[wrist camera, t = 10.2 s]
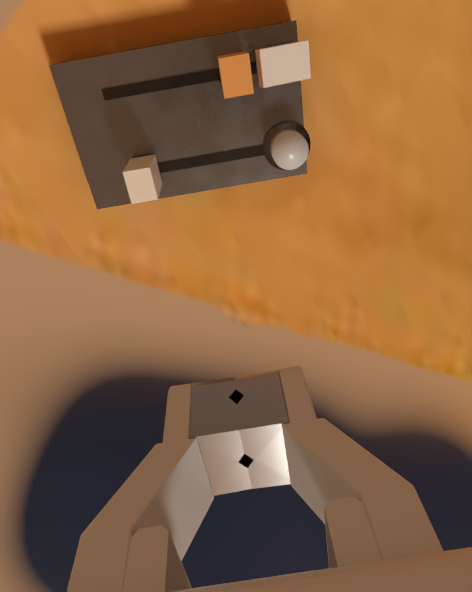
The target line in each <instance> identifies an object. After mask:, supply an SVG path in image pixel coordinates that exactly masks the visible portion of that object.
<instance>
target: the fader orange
mask: <svg viewBox="0 0 472 592" xmlns="http://www.w3.org/2000/svg"><path fill="white" fill-rule="evenodd" d="M217 59H218V66H219V72H220V79H221V85H222V92H223V95H224V99H226V98H232V97H237V96H243V95H249V94H254V90H253V82H252V74H251V66H250V58H249V53H247V52H245V51H242V52H237V53H231V54H225V55H220V56H217Z"/></svg>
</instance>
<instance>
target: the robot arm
mask: <svg viewBox="0 0 472 592" xmlns="http://www.w3.org/2000/svg"><path fill="white" fill-rule="evenodd" d="M286 484H291V486H292V487H293V488H294V489H295V490H296V492H297V493H298V494H299V495H300V496H301V497H302V498H303V500H304V501H305V502H306V503H307V504H308V505H309V506H310V508H311V509H312V510H313V511H314V512H315V513H316V514H317V515H318V517H319V518H320V519H321V520H322V521H323V522H324V524H325V525H326V536H327V548H328V560H329V568H328V569H321V570H314V571H308V572H301V573H294V574H287V575H281V576H274V577H267V578H260V579H254V580H246V581H240V582H233V583H226V584H220V585H213V586H205V587H199V588H191V585H190V583H189V580H188V578H187V575H186V573H185V570H184V568H183V565H182V563H181V561H182V559H183V557H184V555H185V553H186V551H187V549H188V547H189V545H190V543H191V541H192V539H193V538H194V536H195V533H196V532H197V530H198V528H199V526H200V524H201V522H202V520H203V518H204V516H205V514H206V512H207V510H208V509H209V507H210V504H211V503H212V501H213V499H214V497H213V496H214V495H220V494H225V493H231V492H236V491H241V490H247V489H252V488H262V487H270V486H278V485H286ZM67 592H472V547H470V548H464V549H457V550H450V551H443V549H442V547H441V545H440V542H439V540H438V538H437V536H436V534H435V532H434V529H433V527H432V525H431V523H430V521H429V519H428V517H427V514H426V512H425V510H424V508H423V506H422V503H421V501H420V499H419V497H418V495H417V493H416V490H415V488H414V486H413V485H412V484H410V483H409V482H408V481H406V480H405V479H403V477H401V476H400V475H399V474H397V473H396V472H395V471H393V470H392V469H390V468H389V467H388V466H386V465H385V464H384V463H382V462H381V461H380V460H379V459H377V458H376V457H374V456H373V455H372V454H371V453H369V452H368V451H366V450H365V449H364V448H362V447H361V446H360V445H359V444H357V443H356V442H355V441H353V440H352V439H351V438H349V437H348V436H347V435H345V434H344V433H343V432H341V431H340V430H339V429H337V428H336V427H335V426H333V425H332V424H331V423H329V422H328V421H327V420H325V419H324V418H321V419H317V418H316V415H315V412H314V408H313V405H312V401H311V398H310V395H309V391H308V387H307V384H306V381H305V377H304V374H303V370H302V368H301V367H300V366H296V367H290V368H285V369H279V371H278V370H276V371H270V372H264V373H258V374H252V375H246V376H240V377H234V378H226V379H219V380H212V381H205V382H197V383H193V384H186V385H179V386H171V387H170V389H169V391H168V399H167V408H166V418H165V428H164V436H163V443H160V444H156V445H155V446H154V447H153V449H152V450H151V451H150V452H149V454H148V455H147V456H146V457H145V458H144V460H143V461H142V462H141V463H140V464H139V466H138V467H137V468H136V469H135V470H134V472H133V473H132V474H131V475H130V476H129V478H128V479H127V480H126V481H125V482H124V484H123V485H122V486H121V488H120V489H119V490H118V491H117V492H116V493H115V495H114V496H113V497H112V498H111V499H110V501H109V502H108V503H107V504H106V506H105V507H104V508H103V509H102V510H101V512H100V513H99V514H98V515H97V517H96V518H95V519H94V520H93V521H92V522H91V524H90V525H89V526H88V527H87V529H86V530H85V531H84V532H83V533H82V535H81V537H80V542H79V545H78V549H77V553H76V557H75V561H74V565H73V569H72V573H71V577H70V581H69V585H68V589H67Z"/></svg>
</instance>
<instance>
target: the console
mask: <svg viewBox="0 0 472 592" xmlns="http://www.w3.org/2000/svg"><path fill="white" fill-rule="evenodd" d="M294 42H298V39H297V25H296V20H295V21H289V22H284V23H278V24H273V25H267V26H262V27H256V28H251V29H245V30H239V31H234V32H228V33H223V34H217V35H212V36H206V37H201V38H195V39H190V40H184V41H179V42H173V43H168V44H162V45H157V46H151V47H146V48H140V49H135V50H129V51H124V52H118V53H113V54H107V55H101V56H96V57H90V58H85V59H79V60H74V61H68V62H63V63H57V64H52V65H49V66H50V69H51V72H52V75H53V78H54V81H55V84H56V87H57V90H58V93H59V96H60V99H61V102H62V105H63V108H64V111H65V114H66V117H67V120H68V123H69V126H70V129H71V132H72V135H73V138H74V141H75V144H76V147H77V150H78V153H79V156H80V159H81V162H82V165H83V168H84V171H85V174H86V177H87V180H88V183H89V186H90V189H91V192H92V195H93V198H94V201H95V204H96V207H97V209H101V208H107V207H113V206H119V205H124V204H130V203H131V200H130V197H129V193H128V190H127V186H126V183H125V179H124V176H123V170H124V169H125V167H126V165H127V164H128V162H129V160H130V159H131V158H137V157H142V156H148V155H154V154H155V155H156V159H157V163H158V168H159V172H160V176H161V180H162V187H161V190H160V194H159V197H158V199H159V198H165V197H171V196H177V195H183V194H189V193H195V192H200V191H206V190H212V189H218V188H224V187H230V186H236V185H241V184H247V183H253V182H259V181H265V180H271V179H277V178H282V177H288V176H294V175H300V174H306V173H307V165H306V160H305V162H304V163H303V164H302V165H301V166H300V167H298V168H296V169H293V170H286V169H283V168H281V167H279V166H278V165H277V164H276V163H275V161H274V159H273V157H272V155H271V153H270V142H271V139H272V137H273V136H274V135H275V134H276V133H277V132H278V131H280V130H282V129H285V128H291V129H294V130H296V131H298V132H299V133H300V134H301V135H302V136H303V137H304V138H305V140H306V141H307V143H308V148H309V150H310V138H309V135H308V133H307V131H306V130H305V128H304V123H303V109H302V95H301V81H295V82H291V83H286V84H281V85H276V86H271V87H266V88H261V87H259V80H258V71H257V62H256V54H255V50H257V49H262V48H267V47H273V46H278V45H283V44H288V43H294ZM242 51H245V52H247V53H249V58H250V66H251V74H252V82H253V90H254V94H249V95H243V96H237V97H232V98H226V99H224V95H223V92H222V85H221V79H220V72H219V66H218V59H217V56H220V55H225V54H231V53H237V52H242ZM308 154H309V152H308Z"/></svg>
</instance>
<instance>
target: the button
mask: <svg viewBox="0 0 472 592" xmlns="http://www.w3.org/2000/svg"><path fill="white" fill-rule="evenodd" d="M308 152H309V148H308V143H307V141H306V140H305V138H304V137H303V136H302V135H301V134H300V133H299V132H298V131H296V130H294V129H291V128H285V129H282V130H280V131H278V132H277V133H276V134H275V135H274V136H273V137H272V139H271V142H270V153H271V155H272V157H273V159H274V161H275V163H276V164H277V165H278V166H279V167H281V168H283V169H286V170H293V169H296V168H298V167H300V166H301V165H302V164H303V163H304V162H305V160H306V159H307V156H308Z"/></svg>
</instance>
